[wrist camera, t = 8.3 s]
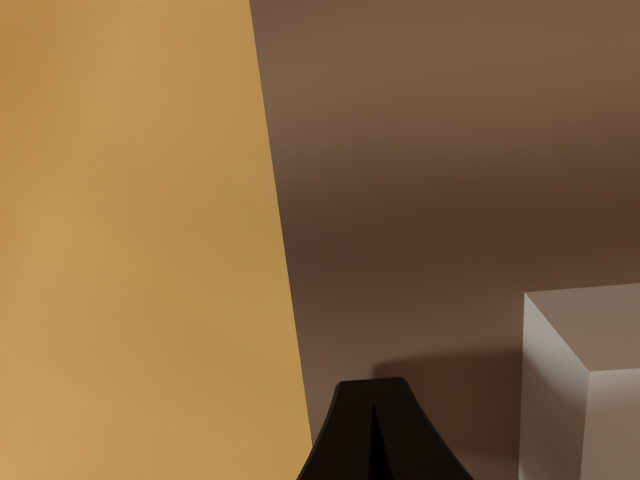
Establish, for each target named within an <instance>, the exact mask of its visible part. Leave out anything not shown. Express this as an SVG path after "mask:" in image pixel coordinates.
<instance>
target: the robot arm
mask: <svg viewBox="0 0 640 480" xmlns="http://www.w3.org/2000/svg"><path fill="white" fill-rule="evenodd" d="M296 480H474V479H473V477H472V476H471V475H470V474H469V473H468V472H467V470H466V469H465V468H464V467H463V465H462V464H461V463H460V461H459V460H458V459H457V458H456V456H455V455H454V454H453V452H452V451H451V450H450V448H449V447H448V446H447V444H446V443H445V442H444V440H443V439H442V437H441V436H440V435H439V433H438V432H437V431H436V429H435V428H434V426H433V425H432V423H431V422H430V420H429V419H428V417H427V416H426V414H425V412H424V411H423V409H422V408H421V406H420V404H419V403H418V401H417V399H416V398H415V396H414V394H413V392H412V390H411V388H410V386H409V384H408V381H406V380H405V379H404V378H403V377H391V378H377V379H363V380H349V381H340V382H339V383H338V384H337V385H336V386H335V390H334V395H333V398H332V401H331V404H330V407H329V410H328V413H327V416H326V418H325V421H324V423H323V426H322V428H321V430H320V433H319V435H318V437H317V439H316V441H315V444H314V446H313V448H312V450H311V452H310V455H309V457H308V459H307V461H306V463H305V465H304V467H303V468H302V470H301V472H300V474H299V476H298V478H297V479H296Z"/></svg>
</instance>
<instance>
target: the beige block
mask: <svg viewBox="0 0 640 480" xmlns="http://www.w3.org/2000/svg"><path fill="white" fill-rule="evenodd" d="M519 480H640V283H635V284H623V285H610V286H598V287H585V288H573V289H560V290H548V291H536V292H525V294H524V325H523V356H522V387H521V418H520V449H519Z"/></svg>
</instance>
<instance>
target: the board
mask: <svg viewBox="0 0 640 480" xmlns="http://www.w3.org/2000/svg"><path fill="white" fill-rule="evenodd" d="M249 1H250V8H251V15H252V22H253V29H254V36H255V43H256V51H257V58H258V65H259V72H260V79H261V86H262V93H263V100H264V107H265V114H266V121H267V128H268V135H269V142H270V149H271V156H272V163H273V170H274V177H275V184H276V191H277V198H278V206H279V213H280V220H281V227H282V234H283V241H284V248H285V255H286V262H287V269H288V276H289V283H290V290H291V297H292V304H293V311H294V318H295V325H296V332H297V339H298V346H299V354H300V361H301V368H302V375H303V382H304V389H305V396H306V403H307V410H308V417H309V424H310V431H311V438H312V445H313V446H314V444H315V441H316V439H317V437H318V435H319V433H320V430H321V428H322V426H323V423H324V421H325V418H326V416H327V413H328V410H329V407H330V404H331V401H332V398H333V395H334V390H335V386H336V385H337V384H338V383H339V382H340V381H349V380H363V379H377V378H391V377H403V378H404V379H405V380H406V381H408V384H409V386H410V388H411V390H412V392H413V394H414V396H415V398H416V399H417V401H418V403H419V404H420V406H421V408H422V409H423V411H424V412H425V414H426V416H427V417H428V419H429V420H430V422H431V423H432V425H433V426H434V428H435V429H436V431H437V432H438V433H439V435H440V436H441V437H442V439H443V440H444V442H445V443H446V444H447V446H448V447H449V448H450V450H451V451H452V452H453V454H454V455H455V456H456V458H457V459H458V460H459V461H460V463H461V464H462V465H463V467H464V468H465V469H466V470H467V472H468V473H469V474H470V475H471V476H472V477H473V479H474V480H519V449H520V418H521V387H522V356H523V325H524V294H525V292H536V291H548V290H560V289H573V288H585V287H598V286H610V285H623V284H635V283H640V0H249Z"/></svg>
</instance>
